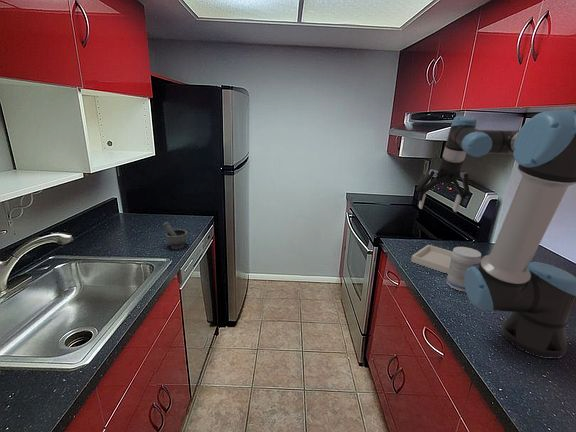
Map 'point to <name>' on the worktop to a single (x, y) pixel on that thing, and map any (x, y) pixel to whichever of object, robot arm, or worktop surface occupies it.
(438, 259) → the tray
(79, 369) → the worktop surface
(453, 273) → the supplement tub
